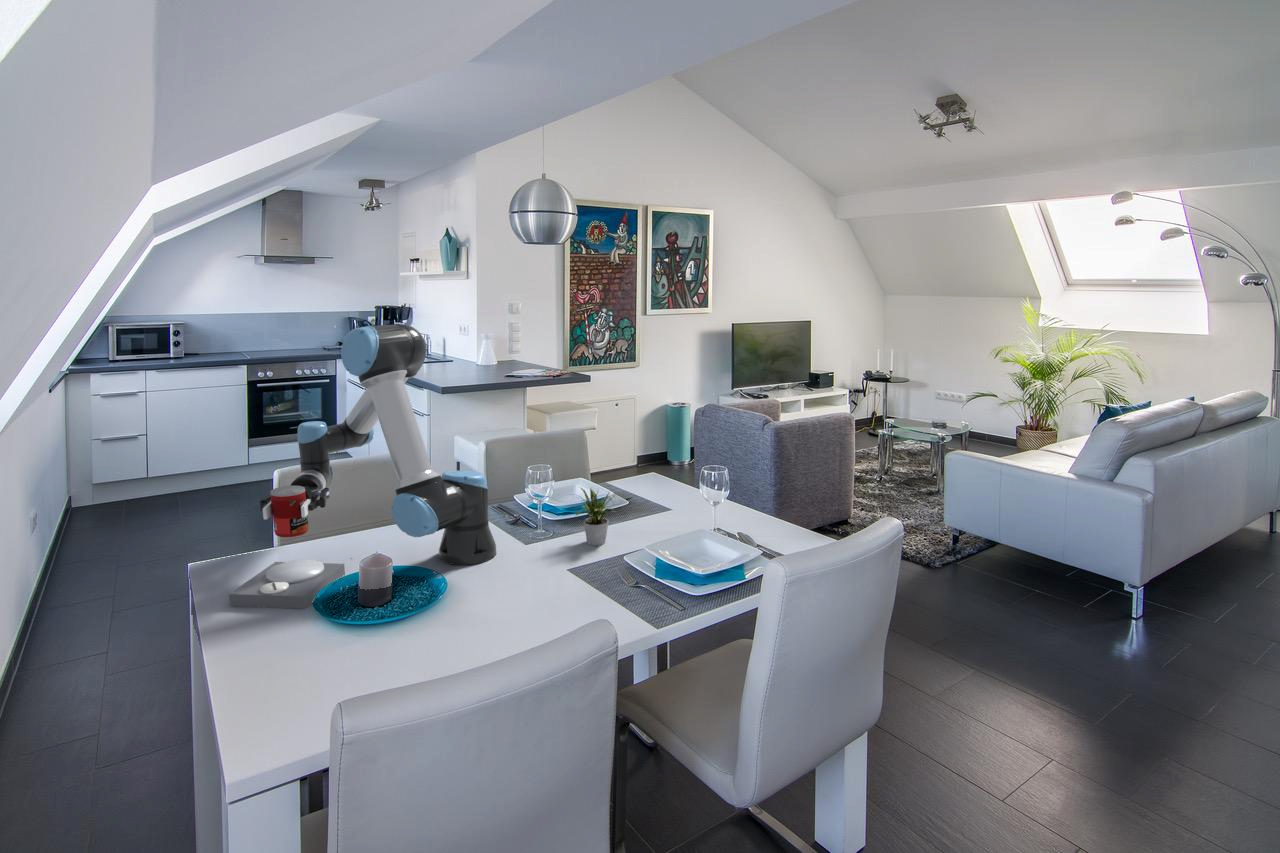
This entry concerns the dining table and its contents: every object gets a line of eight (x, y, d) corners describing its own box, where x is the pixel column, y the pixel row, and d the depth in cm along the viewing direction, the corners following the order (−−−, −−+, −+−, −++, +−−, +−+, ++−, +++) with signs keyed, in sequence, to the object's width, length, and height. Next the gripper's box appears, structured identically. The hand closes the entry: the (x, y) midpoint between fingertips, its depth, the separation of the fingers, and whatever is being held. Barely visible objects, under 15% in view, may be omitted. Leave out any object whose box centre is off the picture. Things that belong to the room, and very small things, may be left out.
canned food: (296, 538, 186) (291, 494, 184) (267, 536, 188) (262, 492, 186) (315, 528, 193) (312, 486, 191) (287, 526, 195) (283, 484, 193)
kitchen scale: (345, 574, 196) (343, 560, 195) (305, 608, 176) (304, 592, 175) (276, 572, 197) (275, 558, 196) (230, 606, 178) (228, 589, 177)
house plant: (556, 542, 219) (555, 486, 216) (590, 530, 229) (590, 476, 226) (592, 554, 210) (592, 496, 207) (626, 540, 220) (626, 485, 217)
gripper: (349, 498, 209) (330, 525, 187) (267, 502, 206) (239, 530, 184) (347, 472, 207) (328, 495, 185) (265, 475, 204) (235, 500, 182)
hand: (283, 513), depth 185 cm, fingers closed on canned food, 8 cm apart
